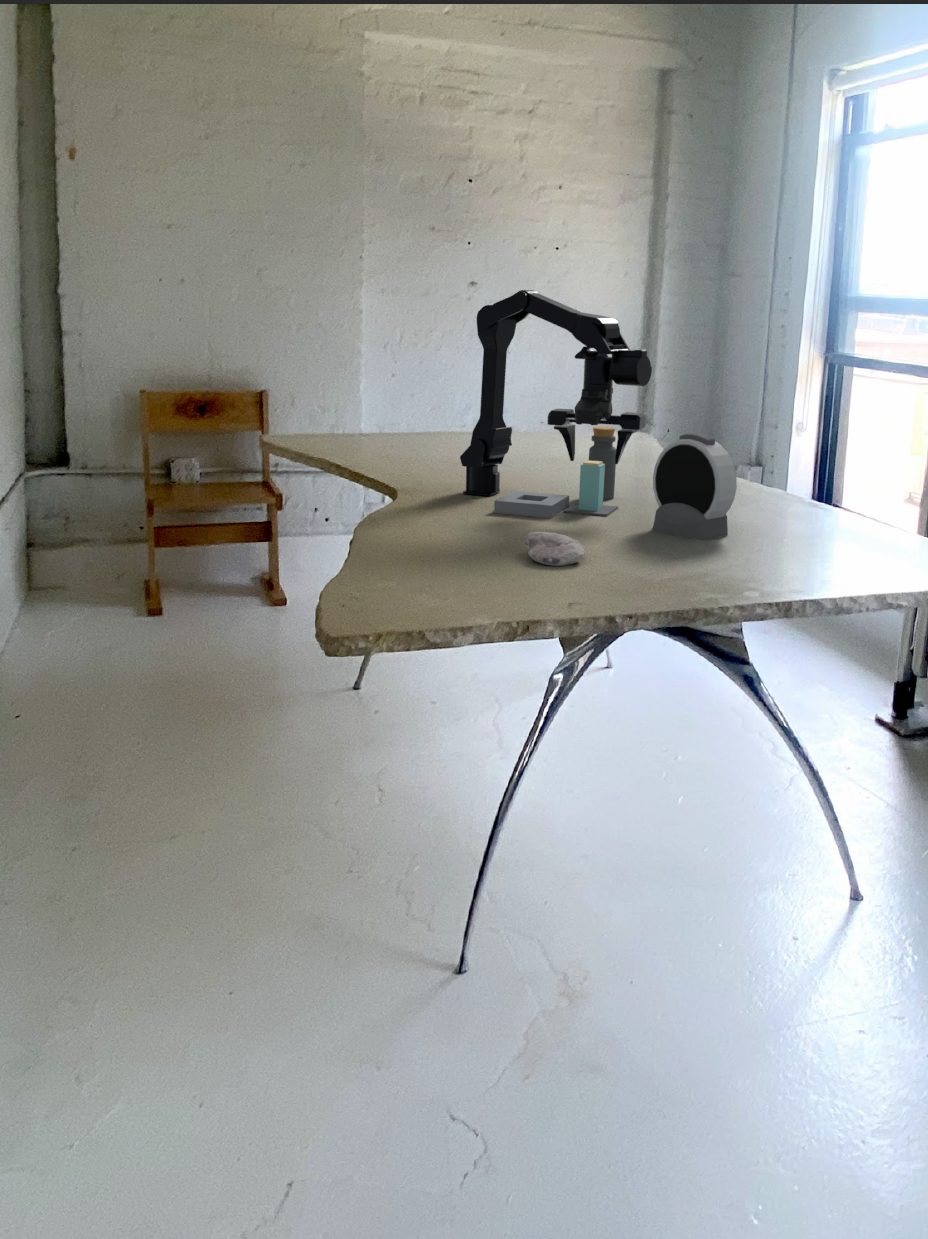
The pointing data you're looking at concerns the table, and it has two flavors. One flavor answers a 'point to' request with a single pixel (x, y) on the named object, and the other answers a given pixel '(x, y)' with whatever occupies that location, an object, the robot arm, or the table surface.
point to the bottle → (605, 456)
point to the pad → (602, 512)
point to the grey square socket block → (531, 504)
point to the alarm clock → (694, 488)
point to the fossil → (553, 548)
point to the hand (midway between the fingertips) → (594, 462)
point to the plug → (591, 485)
